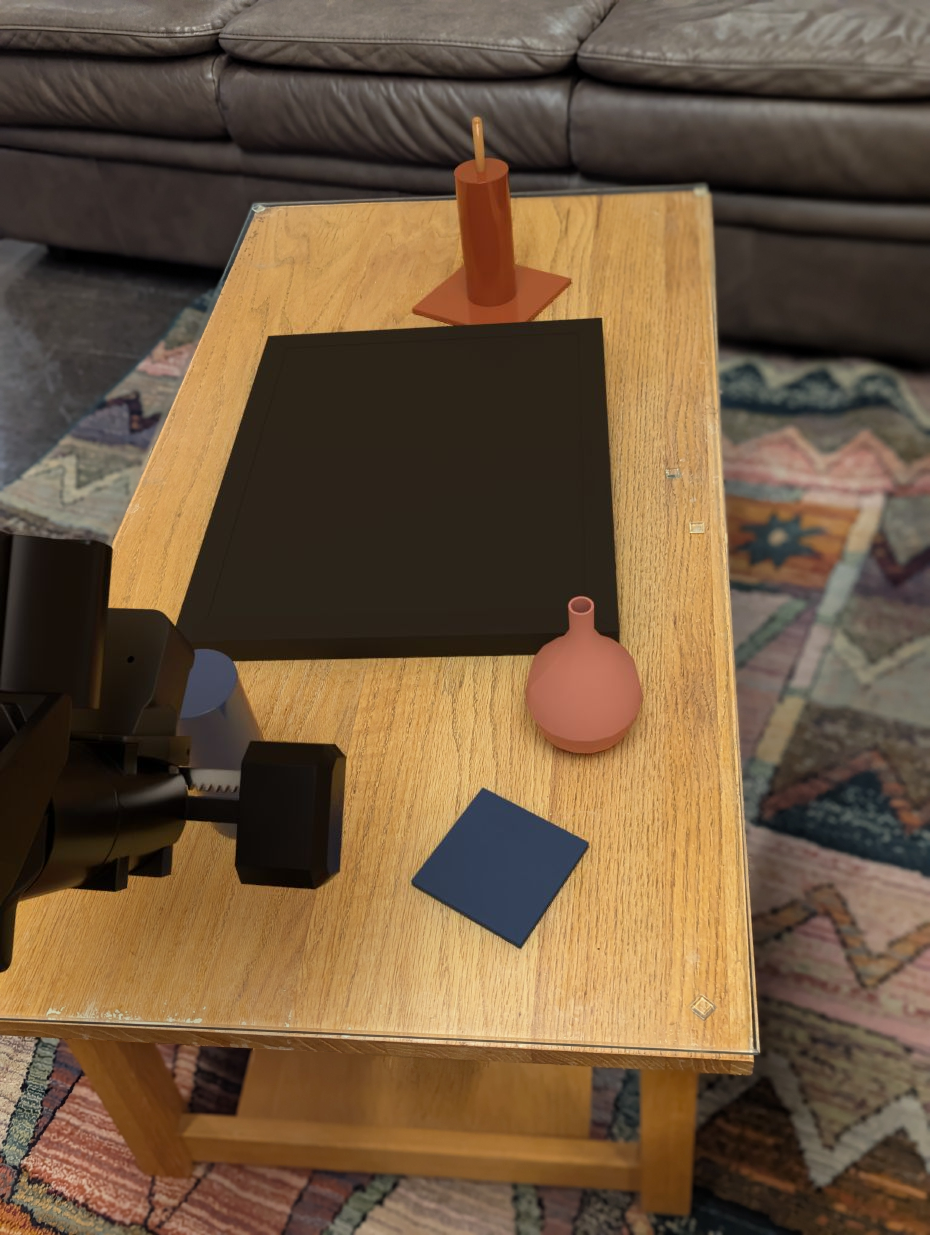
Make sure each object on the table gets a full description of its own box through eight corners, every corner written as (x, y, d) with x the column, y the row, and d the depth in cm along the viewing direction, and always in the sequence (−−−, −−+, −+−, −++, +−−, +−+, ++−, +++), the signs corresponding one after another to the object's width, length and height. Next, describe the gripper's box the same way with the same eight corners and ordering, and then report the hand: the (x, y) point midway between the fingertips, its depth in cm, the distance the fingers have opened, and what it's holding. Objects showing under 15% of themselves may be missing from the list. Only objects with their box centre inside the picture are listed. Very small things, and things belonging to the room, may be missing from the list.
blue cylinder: (250, 852, 69) (193, 731, 60) (192, 816, 72) (129, 695, 62) (301, 793, 72) (255, 669, 63) (245, 761, 74) (192, 636, 65)
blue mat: (520, 949, 63) (520, 945, 63) (411, 885, 67) (410, 880, 66) (589, 847, 67) (589, 841, 67) (483, 791, 71) (482, 786, 70)
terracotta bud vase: (662, 745, 72) (669, 624, 63) (560, 789, 70) (553, 672, 62) (605, 667, 77) (605, 545, 68) (509, 707, 75) (496, 587, 67)
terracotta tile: (509, 341, 106) (509, 336, 106) (412, 313, 112) (411, 308, 111) (571, 283, 113) (571, 278, 112) (476, 258, 118) (476, 253, 117)
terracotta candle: (499, 311, 109) (484, 133, 96) (457, 299, 111) (437, 124, 98) (526, 286, 112) (515, 110, 99) (484, 275, 114) (469, 101, 101)
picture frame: (179, 662, 81) (619, 653, 78) (170, 641, 80) (619, 631, 76) (273, 356, 109) (602, 338, 105) (268, 335, 107) (602, 317, 103)
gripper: (297, 614, 41) (390, 646, 56) (-147, 600, 44) (57, 634, 59) (278, 916, 40) (378, 864, 55) (-175, 880, 43) (40, 840, 58)
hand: (208, 792), depth 57 cm, fingers open, 9 cm apart
